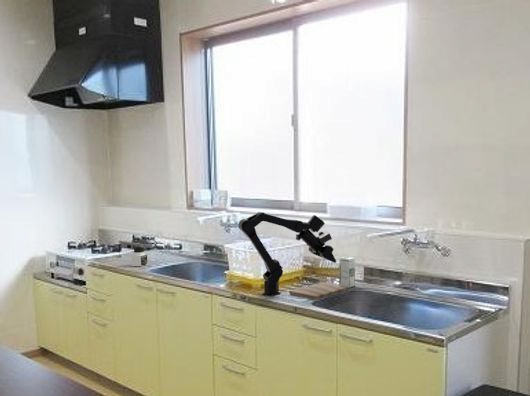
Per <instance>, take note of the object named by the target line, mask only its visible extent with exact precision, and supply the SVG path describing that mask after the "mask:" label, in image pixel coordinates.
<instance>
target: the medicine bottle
mask: <svg viewBox="0 0 530 396" xmlns="http://www.w3.org/2000/svg"><path fill="white" fill-rule="evenodd" d="M130 258H131V261H130V262H131V266H132V265H133V266H143V267H145V266H144V265H146V264H147V265H148V253H145V247H144V246H142V245H138V246H134V247H133V254H131V257H130ZM147 265H146V266H147Z"/></svg>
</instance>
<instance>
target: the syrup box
mask: <svg viewBox="0 0 530 396" xmlns="http://www.w3.org/2000/svg"><path fill="white" fill-rule="evenodd" d="M338 264H339V265H338V267H339V270H338V271H339V275H338V276H339V277H338V279H339V280H338V282H339V283H338V285H339V286H344V287H348V289H350V288H353V287H355V286H356V258H355V257H353V256H343V257H340V258H339V263H338Z"/></svg>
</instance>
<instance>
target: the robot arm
mask: <svg viewBox="0 0 530 396" xmlns="http://www.w3.org/2000/svg"><path fill="white" fill-rule="evenodd" d="M262 222H266V223H269V224H272V225H273V224H274V225H276V226H280V227H284V228H286V229H288V230H290V231H291V232H295V233H296V234H295V241H301V240H302V241H303V242H304V243H305V244H306V246H307V247H308V251H309V253H311V254H313V255H314V256H317V257H319V258H322V259H325V260H327V261H329V262H332V263H333V264H336V263H337V262H338V261H337V259H336V258H335V256H334V254H333V252H334V248H333V247H332V246H331V245H329V244H326V243H327V242H328V241H331V240H332V239H333V238H332V235H331V233H330V232H328V231H326V232H325V231H320V230H321V229H322V228H323V227H324V226H325V222H324V220H322V219H321V218H320V217H318V216H317V215H316V214H313V215H312V216H311V218H310V219H309V220H308V222H305V221H304V222H303V220H298V219H292V218H291V219H290V218H282V217H278V216H276V215H275V216H274V215H271V214H268V213H265V212H264V211H263V212H262V211H258V212H257V213H256V214H253V215H252V216H251V215H250V216H249V217H247V218H242V219H240V220H239V222H238V224H237V225H238V226H237V227H238V228H239V230H240V231H241V232H242V233H243V234H244V235H245V236H246V237H247V238H248V239H249V241H250V242H251V244H252V246H253V247H254V248H255V250H256V251H257V253H258V255H259V256H260V258H261V260H262V261H263V263H264V267H265V270H266V271H265V272H264V274H262V277H263V280H264V281H263V283H264V286H263V287H264V288H263V289H264V291H263V292H261V293H262V294H263V295H268V296H271V297H272V296H275V295H279V294H282V292H281V291H279V289H280V287H279V282H280V279H281V277H282V276H283V273H284V270H283V269H284V268H283V267H282V266H281V263H280V261H279V260H277V259H275V258H272V256H271V255H270V253H269V252H268V250H267V249H266V247H265V245H264V244H263V243H262V241H261V239H260V237H259V235H258V234H257V231H256V230H257V229H256V227H257V226H259V224H261V223H262ZM297 233H298V234H297ZM314 233H318V236H316V235H315V234H314Z"/></svg>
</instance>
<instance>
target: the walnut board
mask: <svg viewBox="0 0 530 396" xmlns="http://www.w3.org/2000/svg"><path fill="white" fill-rule="evenodd" d="M347 291H349V288H348V287H344V286H339V284H333V283H328V282H322V281H321V282H318V283H316V284H311V285H308V286H303V287H300V288H296V289H293V290H292V289H291V290H289V295H292V296H296V297H300V298H301V297H302V298H305V299H310V300H314V301H316V300H320V299H323V298H327V297H331V296H333V295H338V294H340V293H344V292H347Z"/></svg>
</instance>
